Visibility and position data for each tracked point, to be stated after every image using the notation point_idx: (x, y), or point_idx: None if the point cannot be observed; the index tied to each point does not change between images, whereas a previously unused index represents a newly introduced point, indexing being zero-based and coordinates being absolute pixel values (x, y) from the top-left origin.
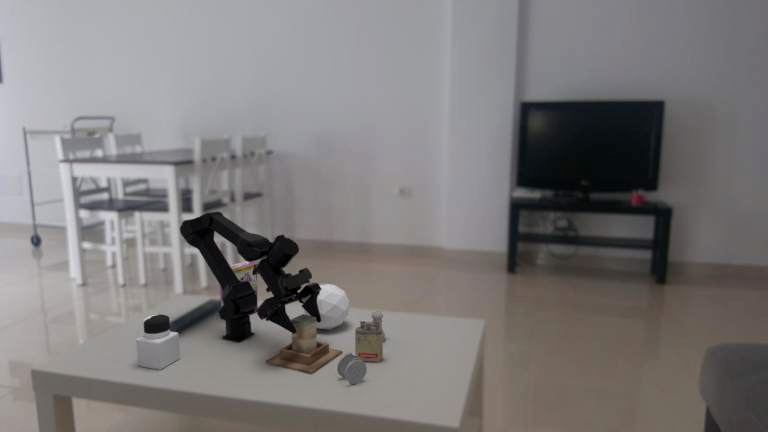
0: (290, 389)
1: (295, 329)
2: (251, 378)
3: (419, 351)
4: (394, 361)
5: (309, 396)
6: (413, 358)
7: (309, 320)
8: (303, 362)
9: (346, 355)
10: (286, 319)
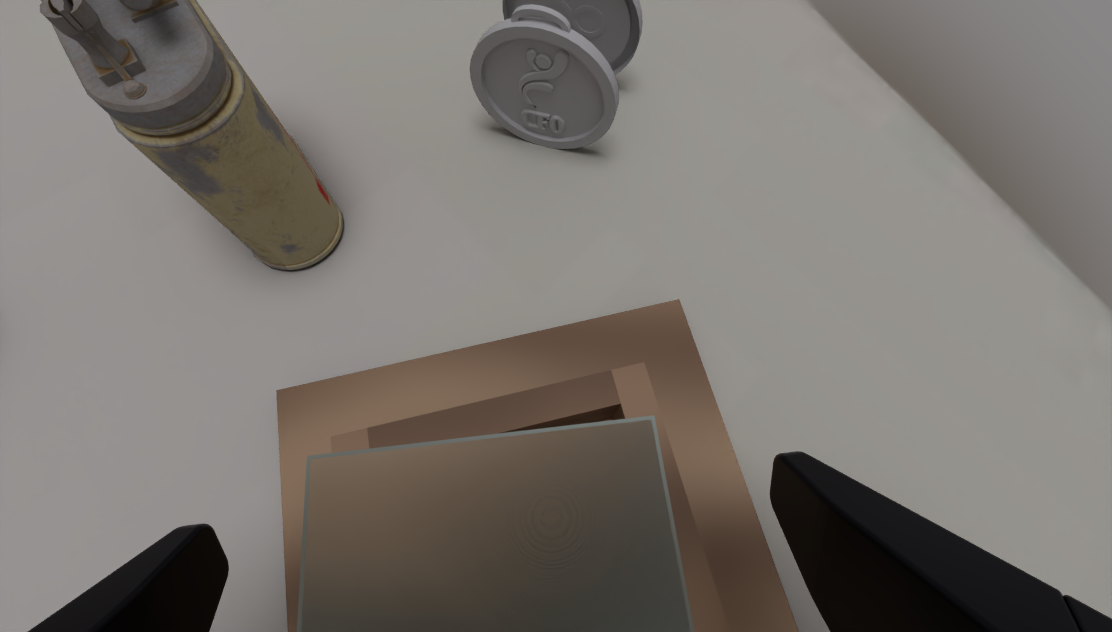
0: (882, 257)
1: (801, 467)
2: None
3: (29, 69)
4: None
5: (835, 137)
6: None
7: (510, 433)
8: None
9: (556, 25)
10: (1109, 623)
